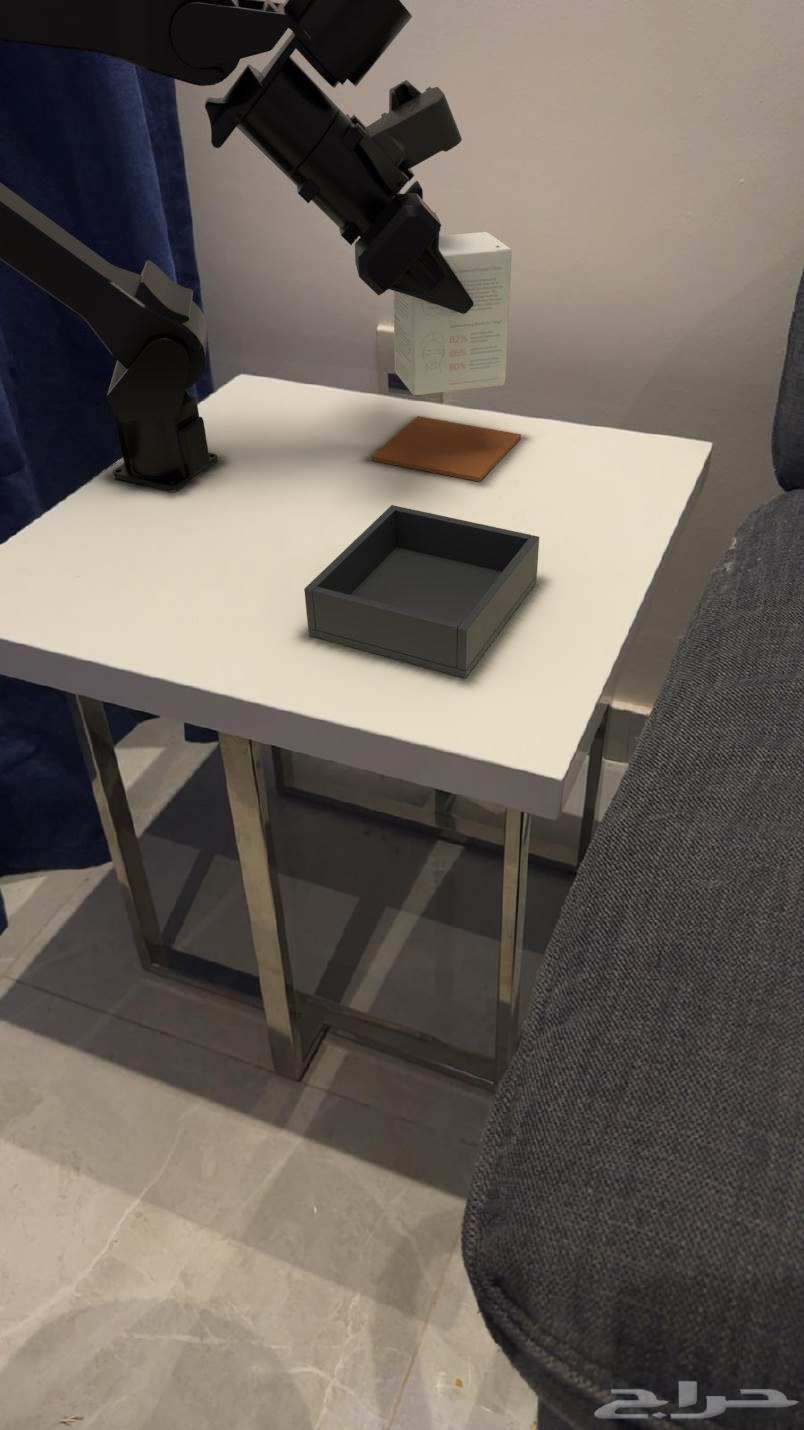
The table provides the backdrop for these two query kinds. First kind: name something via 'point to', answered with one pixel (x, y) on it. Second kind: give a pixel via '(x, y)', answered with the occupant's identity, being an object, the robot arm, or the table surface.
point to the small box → (457, 322)
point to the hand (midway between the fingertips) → (463, 295)
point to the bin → (423, 589)
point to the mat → (447, 448)
